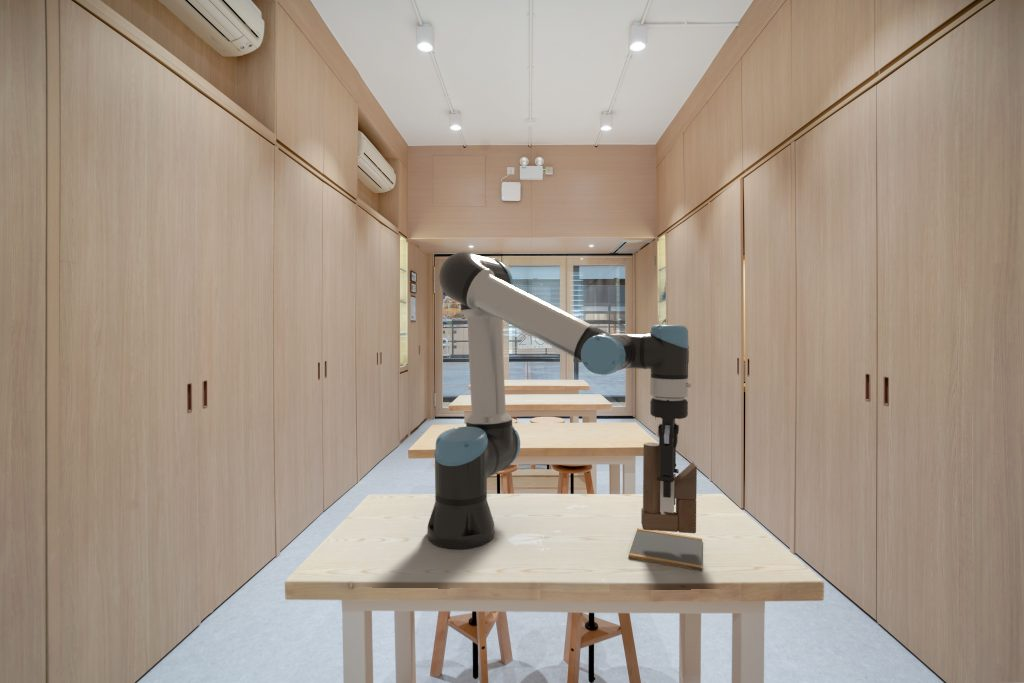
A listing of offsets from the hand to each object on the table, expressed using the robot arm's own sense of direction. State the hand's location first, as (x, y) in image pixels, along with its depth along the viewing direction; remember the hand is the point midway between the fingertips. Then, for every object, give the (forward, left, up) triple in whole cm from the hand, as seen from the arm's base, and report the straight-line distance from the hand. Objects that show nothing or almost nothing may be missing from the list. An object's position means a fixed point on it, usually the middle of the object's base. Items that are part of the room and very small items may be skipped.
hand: (667, 507), depth 103 cm
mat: (0, 0, -9) cm, 9 cm away
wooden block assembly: (0, 0, -5) cm, 5 cm away
